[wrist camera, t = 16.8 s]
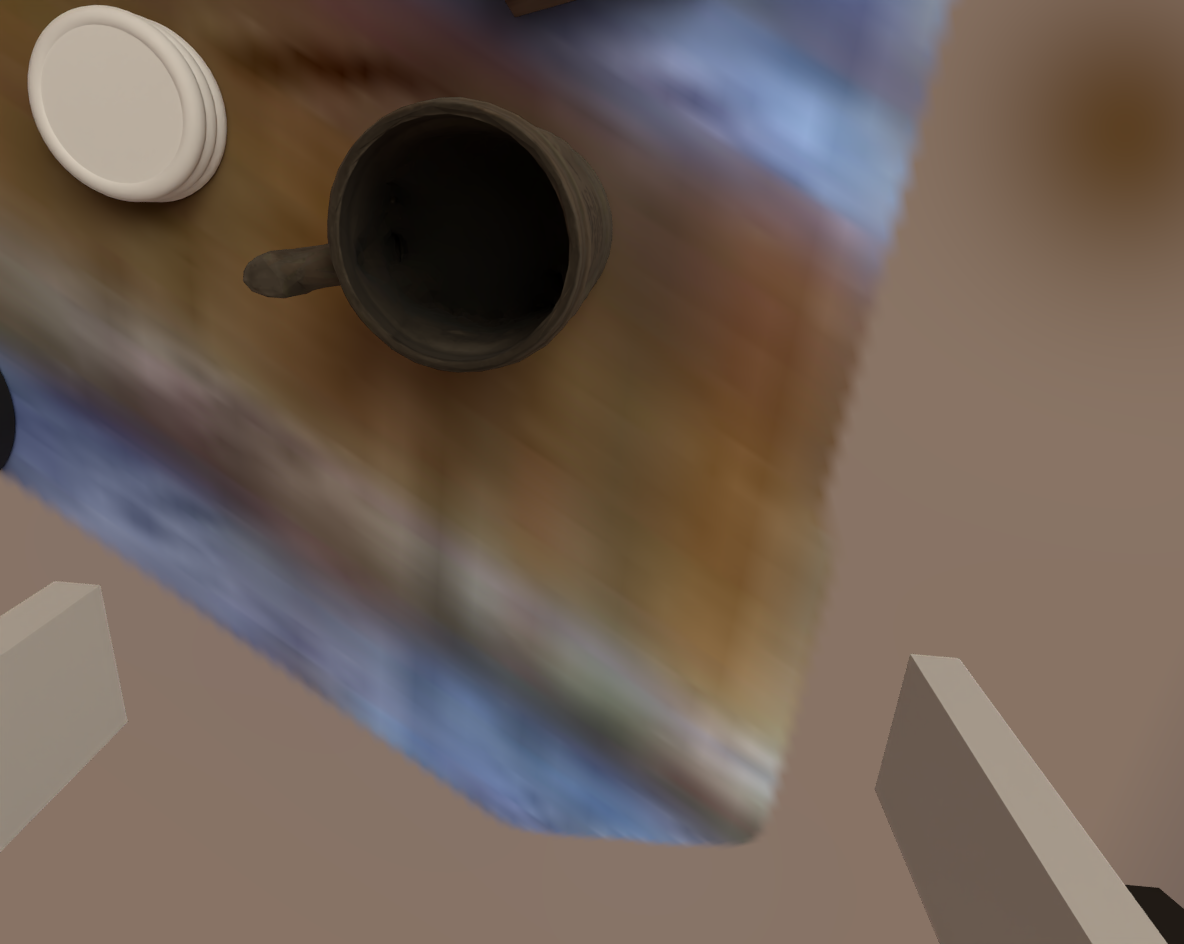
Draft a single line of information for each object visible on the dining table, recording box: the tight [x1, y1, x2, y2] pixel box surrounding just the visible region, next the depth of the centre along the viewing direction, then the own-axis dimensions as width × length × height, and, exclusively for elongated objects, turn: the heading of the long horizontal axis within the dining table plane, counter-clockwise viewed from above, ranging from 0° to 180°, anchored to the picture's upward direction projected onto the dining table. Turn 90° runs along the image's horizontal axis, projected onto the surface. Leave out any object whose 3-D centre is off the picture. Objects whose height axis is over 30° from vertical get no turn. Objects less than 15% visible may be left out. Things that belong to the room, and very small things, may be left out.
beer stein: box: [243, 97, 612, 372], centre depth 36 cm, size 15×11×20 cm
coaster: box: [28, 5, 227, 202], centre depth 42 cm, size 10×10×4 cm
